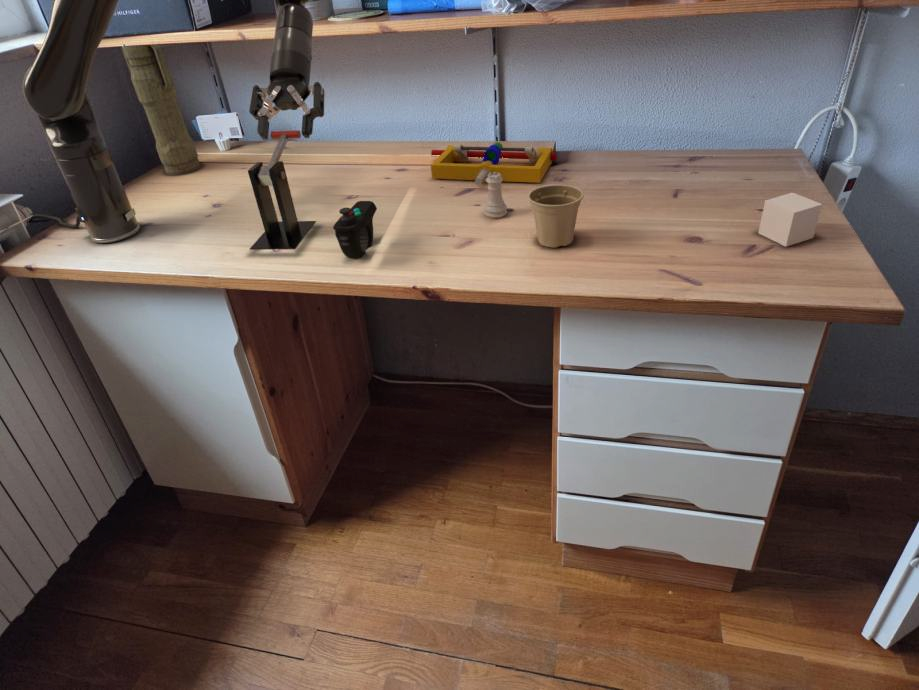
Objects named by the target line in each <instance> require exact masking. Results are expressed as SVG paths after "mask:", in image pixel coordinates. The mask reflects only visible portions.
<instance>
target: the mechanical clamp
mask: <svg viewBox="0 0 919 690" xmlns="http://www.w3.org/2000/svg"><path fill="white" fill-rule="evenodd" d="M553 151H554V149H553V148H552V147H537V148H536V149H535V148H534V146H532V145H531V146H530V145H526V146H525V147H505V146H503V145H502V143H501V142H498V141H497V142H494V143H493V144H491V145H489V146H466V145H465V146H464V145H462V144H453V145H450V144H449V145H447V146H446V149H431V151H430V155H431V156H432V155H440V156H439V157H437V158H436V159H435V160H434V161H433V162H432V163H431V164H430V171H431V178H432V179H442V180H443V179H444V180H464V181H465V180H468V181H474V183H475V184H476V185H477V186H480V185H481V184H482V183H487V182H486V179H487V177H488V176H487V175H489V173H492V175H493V172H496V175H497V173H500V174H501V177H502V178H503V180H502V182H516V183H517V182H518V183H537V184H538V183H541V181H542V180H543V178H544V176H545V174H546V173H547V171H548V169H549V168H550V166H551V165H552V164H553V161H557V159H558V153H557V152H553ZM468 157H478V158H477V159H482V162H481V163H462V161H469V160H470V158H468ZM480 157H481V158H480ZM483 157H484V158H483ZM502 157H503V158H508V159H507V160H528V162H529V163H535V164H534V165H513V164H512V165H511V164H500V160H501V159H502Z"/></svg>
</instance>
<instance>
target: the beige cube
mask: <svg viewBox="0 0 919 690" xmlns="http://www.w3.org/2000/svg"><path fill="white" fill-rule="evenodd" d="M763 205H764V206H763V208H762V214H761V219H760V224H759V228H758V232H757V233H758V235H761V236H763V237H765V238H767V239H769V240H771V241H774V242H775V243H778V244H780V245H781V246H783V247H785V248H786V247H790V246H792V245H795V244H799V243H802V242H805V241H808V240H812V239H814V236H815V233H816V229H817V227H818V222H819V218H820V216H821V215H820V214H821V212H822V208H823V203H821V202H817V201H815V200H813V199H810V198H808V197H806V196H803V195H801V194H797V193H796V192H790V193H787V194H786V193H785V194H782V195H778V196H776V197H772V198H769V199H766V200H764V204H763Z"/></svg>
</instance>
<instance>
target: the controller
mask: <svg viewBox="0 0 919 690" xmlns="http://www.w3.org/2000/svg"><path fill="white" fill-rule="evenodd" d="M377 209H378V207H377V206H376V204H375V202H374V201H371V200H359V201H356V202H355V203H354V204H353V206H351V207H341V208H340V209H339V211H338V212H339V214H340V215H341V216H340V217H338V218H339V219H337V221H336V222H335V223H334V225H333V227H332V229H333V230H334V235H335V238H336V240H337V242H338V245H339V248H340V250H341V252H342V254H343V255H344V256H345V257H347V258H348V259H360V258H363V257H364V256H366V252H367V250H368V249H370V248H371V247H372V246H373V242H374V225H373V224H374V222H373V220H374V217H375V214H376V212H377Z"/></svg>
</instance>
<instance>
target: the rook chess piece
mask: <svg viewBox="0 0 919 690" xmlns="http://www.w3.org/2000/svg"><path fill="white" fill-rule="evenodd" d="M487 176H488V177H487V179H486V182H485V183H487V184H488V185H487V189H488V197H487V202H486V204H485V206H484V214H485V216H486V217H487V218H489V219H490V218H491V219H499V218H500V219H501V218H503V217H505V216H506V214H507V213H508V210H507V207H508V206H507V204H506V203H505V200H504V198H503V195H502V188H503V186H502V182H503V181H502V180H503V178H502V177H501V174H500V173H497V175H496V172H493V175H492V173H489V175H487Z"/></svg>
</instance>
